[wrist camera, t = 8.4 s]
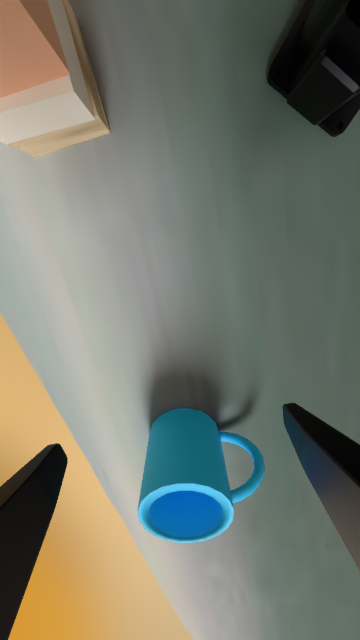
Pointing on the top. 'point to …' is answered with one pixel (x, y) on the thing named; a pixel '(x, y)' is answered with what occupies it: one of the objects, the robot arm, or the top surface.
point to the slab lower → (79, 131)
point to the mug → (190, 478)
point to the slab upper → (48, 95)
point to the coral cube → (28, 46)
